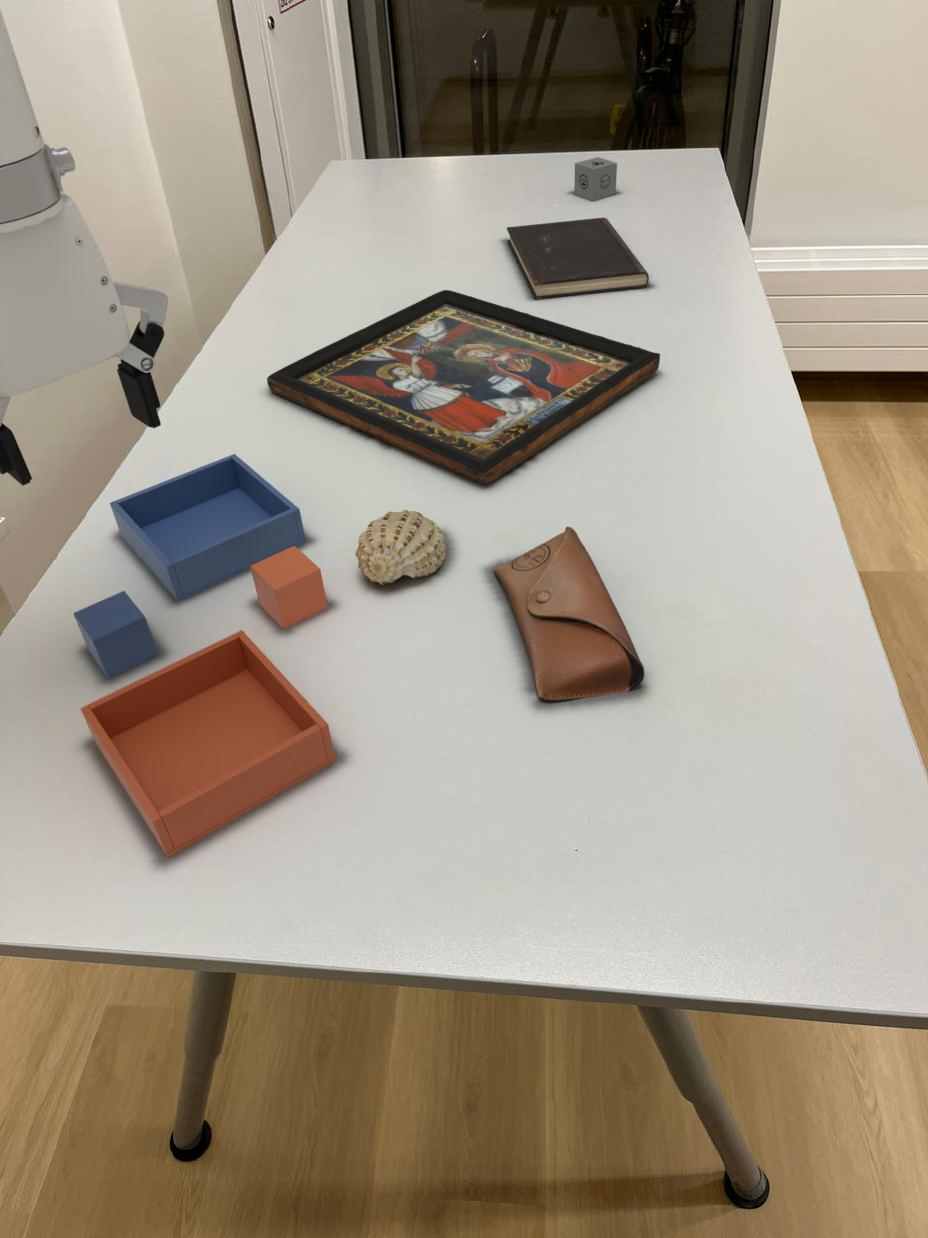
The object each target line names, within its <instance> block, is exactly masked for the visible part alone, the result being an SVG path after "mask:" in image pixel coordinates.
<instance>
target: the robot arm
mask: <svg viewBox="0 0 928 1238" xmlns="http://www.w3.org/2000/svg"><path fill="white" fill-rule="evenodd" d="M23 77H24V76H23V74H22V71H21V68H20V65H19V61H18V59H17V55H16V52H15V49H14V47H13V43H12V40H11V38H10V34H9V31H8V28H7V25H6V22H5V18H4V16H3V12H2V10H1V9H0V474H1V475H5V474H8V475H10V476H11V477H12V478H13V479H14V480H15V481H16V482H18V483H19V484H20V485H21V486H23V487H24V486H26V485H28V484H30V483H31V481H32V480H33V477H32V474H31V472H30V470H29V468H28V465H27V463H26V461H25V458H24V456H23V453H22V451H21V449H20V447H19V443H18V442H17V439H16V436H15V434H14V433H13V431H12V429H10V428H9V427H8V426H7V425H5V424H4V423H3V421H4V418H5V416H6V412H7V410H8V406H9V404H10V401H11V398H12V397H15V396H20V395H22V394H25V393H27V392H30V391H33V390H35V389H38V388H41V387H43V386H46V385H49V384H51V383H54V382H56V381H60V380H61V379H64V378H67V377H70V376H71V375H75V374H77V373H80V372H82V371H84V370H87V369H90V368H92V367H96V366H97V365H100V364H103V363H105V362H107V361H109V360H111V359H115V357H117V358H119V359H120V360H119V361H120V363H118V364H117V369H116V370H117V374H118V377H119V381H120V384H121V386H122V390H123V393H124V396H125V399H126V402H127V406H128V409H129V411H130V414H131V415H132V417H133V418H135V419H136V420H138V421H139V422H141V423H142V424H144V425H145V426H147V427H149V428H150V429H151V428H152V429H156V428H158V427H160V426H161V425H162V423H161V419H160V417H159V413H158V409H160V408H161V402H160V398H159V394H158V392H157V389H156V386H155V382H154V379H153V375H152V371H153V370H154V369H155V368H156V367H155V366H156V361H155V359H154V358H155V356H156V354H157V352H158V351H159V348H160V346H161V344H162V342H163V340H164V337H165V330H164V324H166V323H165V322H166V317H167V309H168V306H169V305H168V304H169V298H168V296H167V295H166V294H165V293H164V292H161V291H159V290H157V289H155V288H150V287H144V286H140V285H134V284H130V283H128V284H127V283H124V282H119V281H113V279H112V276H111V274H110V271H109V268H108V267H107V264H106V262H105V260H104V257H103V255H102V253H101V251H100V248H99V247H98V244H97V243H96V241H95V238H94V236H93V234H92V232H91V230H90V228H89V226H88V224H87V222H86V220H85V218H84V216H83V215H82V213H81V211H80V209H79V208H78V206H77V204H76V202H75V201H74V199H73V198H72V197H71V196H70V195H67V194H66V193H64V188H63V185H62V179H61V178H62V177H64V176H65V174H67V173H70V172H75V170H76V163H75V160H74V157H73V155H72V153H71V151H70V150H69V149H68V148H67V147H65V146H63V147H60V148H54V147H50V146H49V144H47V143H45V141H44V138H43V135H42V132H41V129H40V126H39V122H38V120H37V117H36V114H35V111H34V108H33V104H32V102H31V99H30V96H29V93H28V90H27V85H26V83H25V80H24V78H23ZM123 306H126V307H133V308H137V309H138V308H139V310H140V313H139V318H140V320H139V321H138V322H137V324H136V326H135V328H134V330H133V333H132V335H131V334H130V329H129V324H128V321H127V316H126V314H125V311H124V308H123Z"/></svg>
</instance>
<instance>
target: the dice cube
mask: <svg viewBox="0 0 928 1238" xmlns="http://www.w3.org/2000/svg"><path fill="white" fill-rule="evenodd" d="M617 172H618V163H617V162H614V161H612V160H608V159H606V158H602V157H599V156H597V157H593V158H589V159H585V160H581V161H578V162H575V163H574V189H573V190H574V192H573V194H574V195H575V196H578V197H580V198H583V199H586V200H589V201H591V202H594V201H598V200H601V199H605V198H608V197H611V196H615V195H616V194H617V174H618V173H617Z"/></svg>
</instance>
